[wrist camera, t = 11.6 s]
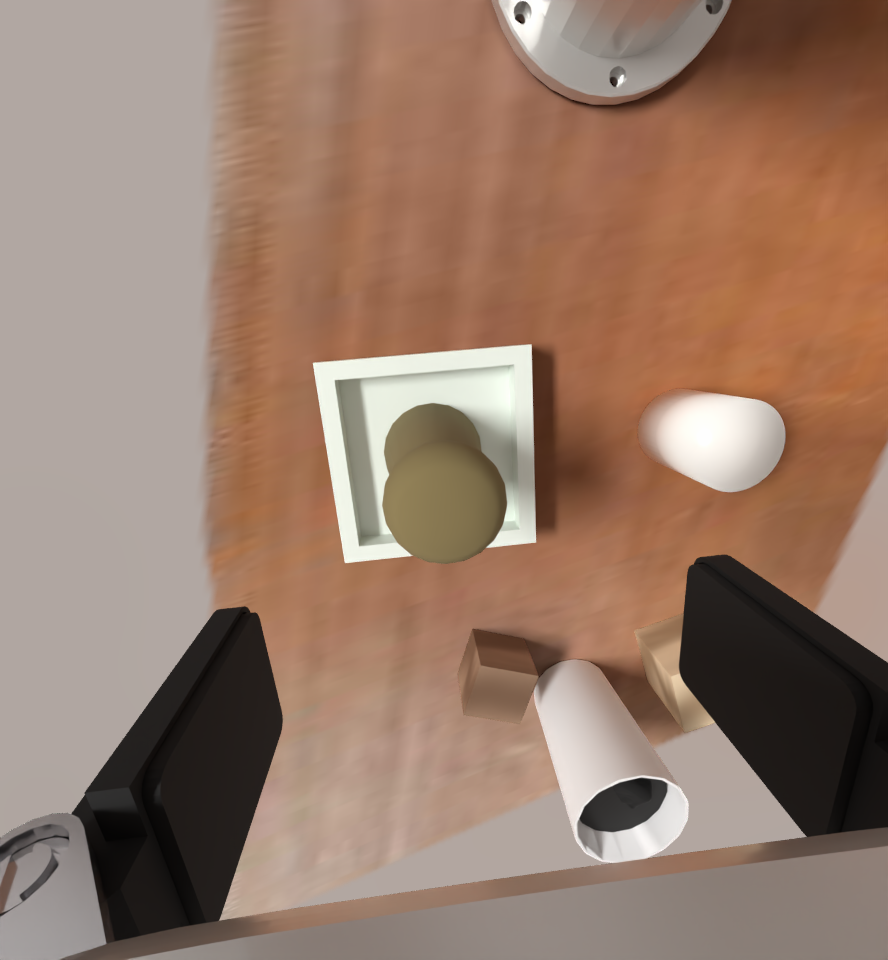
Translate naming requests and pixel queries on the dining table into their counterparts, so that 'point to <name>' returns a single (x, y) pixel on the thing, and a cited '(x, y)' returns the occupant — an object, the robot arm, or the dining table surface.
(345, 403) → the tray
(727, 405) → the white rounded cylinder
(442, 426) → the olive rounded tall piece
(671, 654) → the oak block
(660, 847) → the drinking glass
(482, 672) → the walnut block
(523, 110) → the dining table surface
